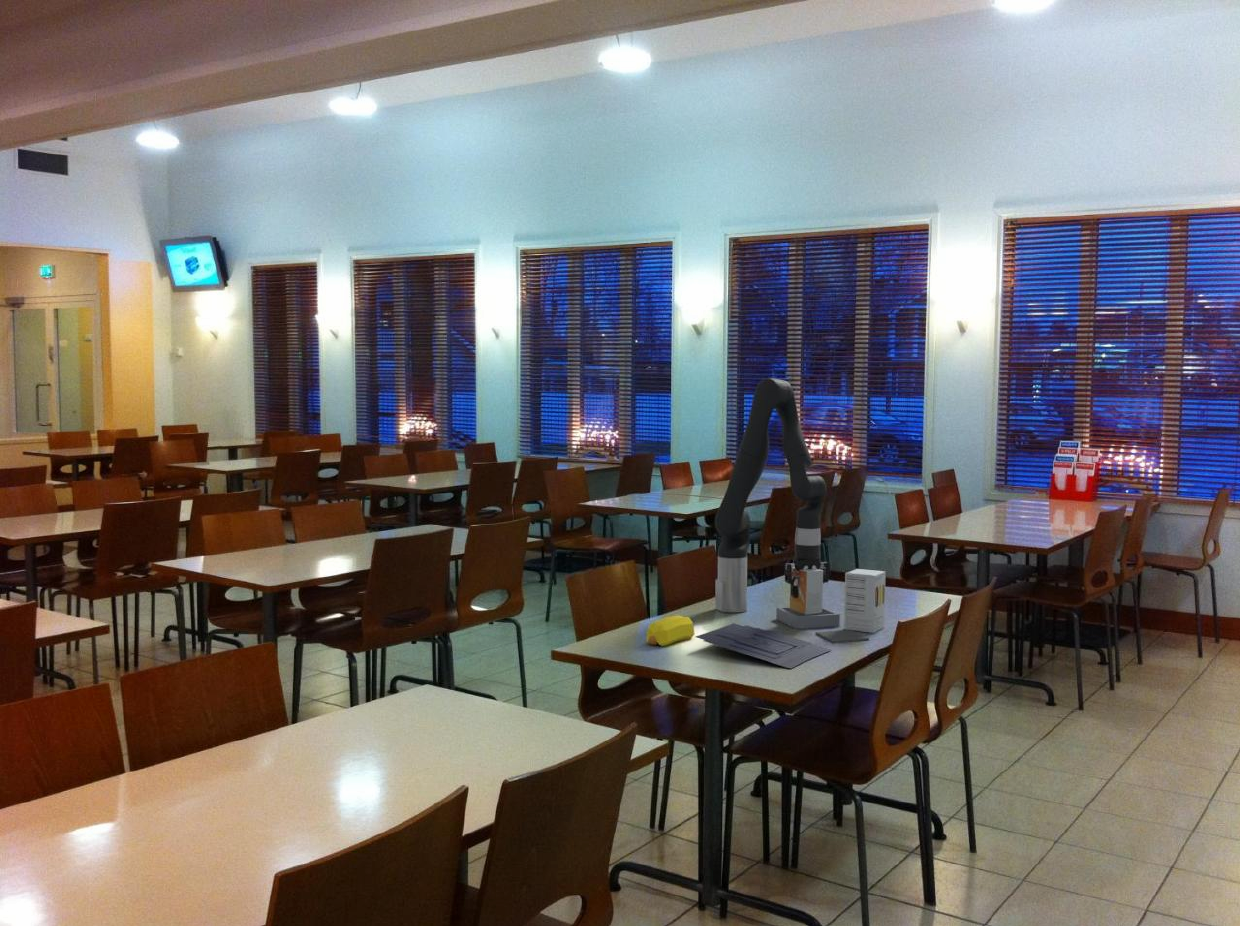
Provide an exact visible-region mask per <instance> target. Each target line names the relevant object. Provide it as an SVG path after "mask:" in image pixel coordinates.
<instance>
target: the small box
mask: <svg viewBox="0 0 1240 926" xmlns="http://www.w3.org/2000/svg"><path fill="white" fill-rule="evenodd" d="M799 573H801V577H800V580H799V582H798V584H797V586H798V595H797V598H793V597H792V595H791V584H789V585H790V586H789V587H790V590H789V591H790V592H789V607H790V609H792V610H795V611H797V612H800V613H803V614H805V615H807V614H816V613H822V607H823V597H824V596H823V592H824V591H823V589H824V588H823V587H824V583H823V570H822V569H821V568H819V569H816V570H813V569H807V570H799V571H798V570H797V569H795V567H794V568H793V570H792V578H793V575H795V574H796V575H799ZM795 579H796V578H795Z"/></svg>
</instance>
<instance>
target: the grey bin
mask: <svg viewBox="0 0 1240 926" xmlns="http://www.w3.org/2000/svg"><path fill="white" fill-rule="evenodd" d="M775 611H776V615H775V616H776V620H778V621H780V622H782V623H783V624H785V625H787V626H790V627H792V628H794V629H795V630H799V629H800V630H802V629H814V628H829V627H840V622H841V621H840V618H841V616H840V615H841V614H840V613H838V612H835V611H833V610H831V609H828V608H826V607H825V606H822V613H816V614H807V615H805V614H803V613H800V612H797V611H795V610H792V609H790V606H783V607H782V606H781V607H776V610H775Z"/></svg>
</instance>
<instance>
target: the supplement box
mask: <svg viewBox="0 0 1240 926" xmlns="http://www.w3.org/2000/svg"><path fill="white" fill-rule="evenodd" d="M885 607H886V571H884V570H883V571H882V570H873V569H865V568H863V569H862V568H855V569H853V570H850V571H848V572H845V573H844V625H843V626H844V629H843V630H852V631H854V632H856V631H857V632H863V633H864V632H865V633H871V634H874V633H877V632H878V631H880V630H882V629H885V616H886V614H885V611H886V608H885Z"/></svg>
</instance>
